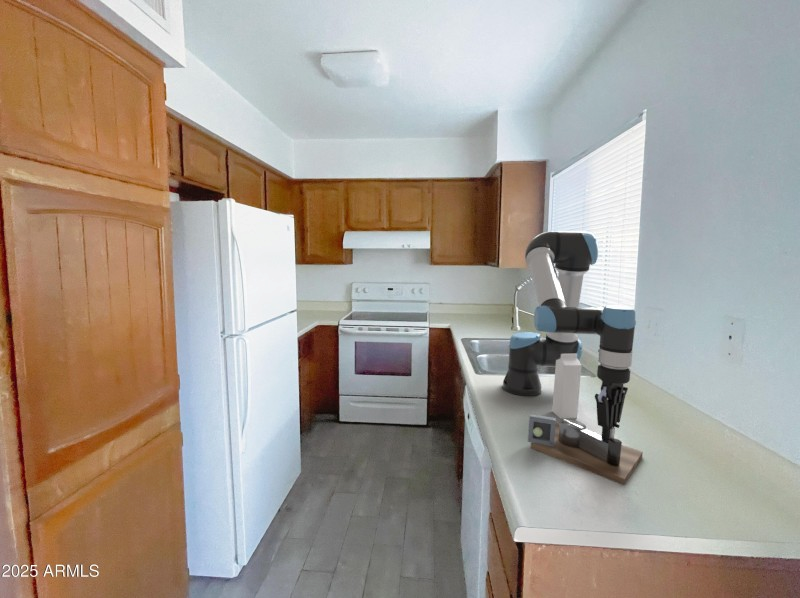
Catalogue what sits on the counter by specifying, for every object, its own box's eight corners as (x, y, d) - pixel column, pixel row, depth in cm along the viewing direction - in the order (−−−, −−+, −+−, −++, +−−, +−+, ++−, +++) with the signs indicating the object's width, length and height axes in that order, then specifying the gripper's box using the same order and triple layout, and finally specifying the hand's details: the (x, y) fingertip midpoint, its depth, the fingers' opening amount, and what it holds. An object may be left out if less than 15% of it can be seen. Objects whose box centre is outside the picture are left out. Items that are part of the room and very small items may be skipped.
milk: (552, 411, 134) (555, 351, 132) (568, 411, 135) (572, 351, 132) (560, 419, 128) (565, 356, 126) (577, 418, 129) (582, 355, 126)
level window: (528, 439, 111) (529, 413, 110) (553, 444, 108) (555, 418, 107) (527, 443, 108) (529, 417, 107) (553, 448, 106) (555, 422, 105)
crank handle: (553, 438, 111) (554, 419, 110) (569, 433, 114) (570, 414, 114) (610, 468, 96) (612, 446, 95) (626, 462, 99) (628, 440, 98)
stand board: (556, 427, 122) (556, 422, 122) (642, 457, 105) (642, 450, 105) (530, 447, 109) (531, 441, 109) (624, 484, 92) (624, 477, 92)
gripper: (611, 357, 106) (604, 436, 109) (587, 365, 98) (580, 450, 102) (640, 364, 100) (632, 448, 103) (616, 373, 92) (608, 463, 96)
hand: (606, 449), depth 102 cm, fingers closed
